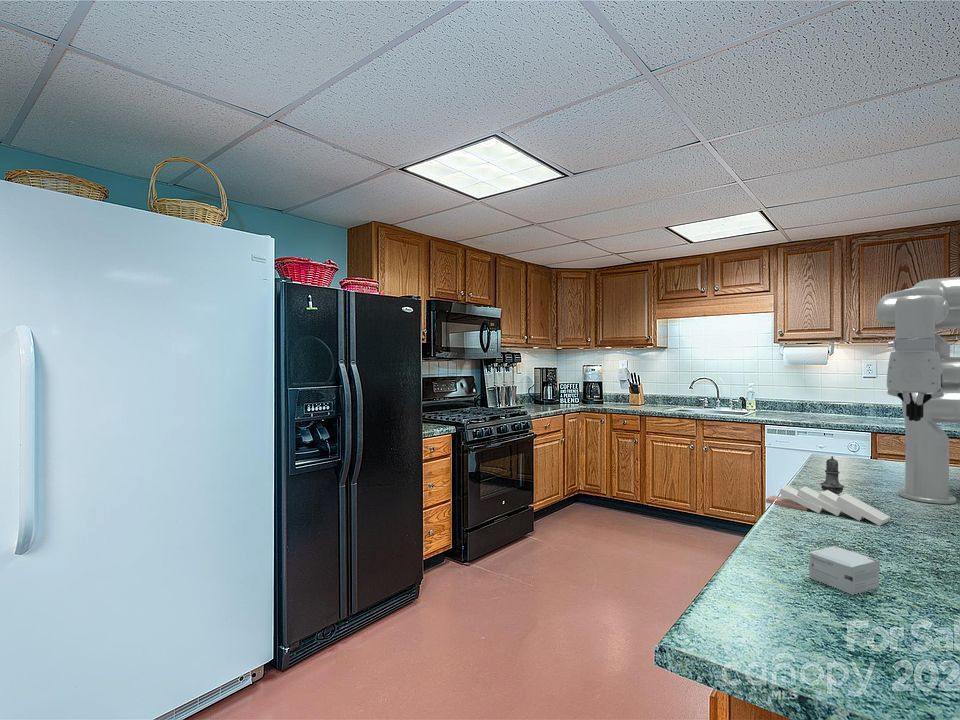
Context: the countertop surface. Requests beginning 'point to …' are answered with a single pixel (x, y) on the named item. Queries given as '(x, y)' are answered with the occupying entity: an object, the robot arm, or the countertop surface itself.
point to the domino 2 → (817, 500)
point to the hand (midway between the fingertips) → (914, 420)
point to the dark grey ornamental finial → (832, 477)
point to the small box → (844, 569)
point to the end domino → (785, 502)
